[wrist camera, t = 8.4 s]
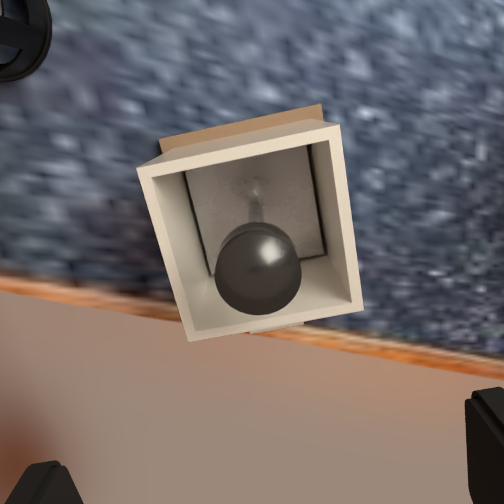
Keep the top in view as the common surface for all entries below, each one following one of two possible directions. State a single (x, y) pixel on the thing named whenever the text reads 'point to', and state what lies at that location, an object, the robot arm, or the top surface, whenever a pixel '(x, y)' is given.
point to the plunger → (257, 226)
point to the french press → (26, 39)
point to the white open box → (190, 240)
